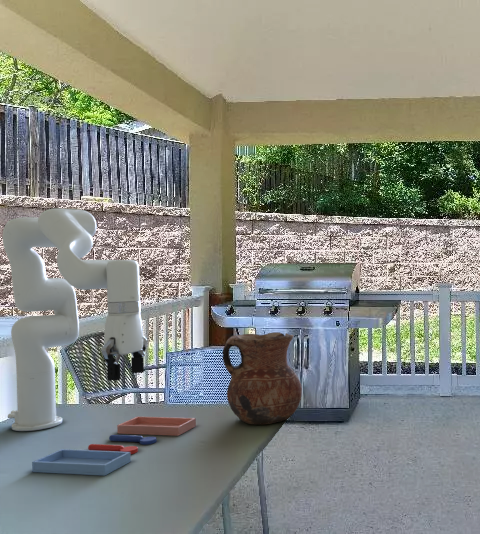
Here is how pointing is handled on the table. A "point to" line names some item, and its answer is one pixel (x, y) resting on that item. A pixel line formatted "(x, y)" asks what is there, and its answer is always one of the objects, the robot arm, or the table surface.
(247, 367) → the jug
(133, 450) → the red spoon
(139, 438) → the navy spoon
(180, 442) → the table surface
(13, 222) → the robot arm
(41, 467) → the blue tray
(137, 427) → the rose tray
